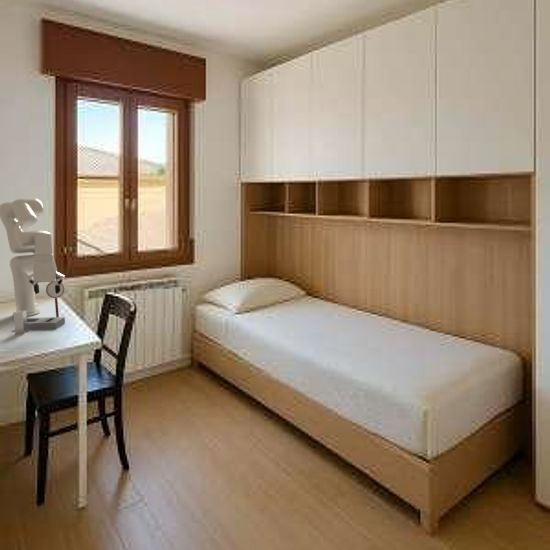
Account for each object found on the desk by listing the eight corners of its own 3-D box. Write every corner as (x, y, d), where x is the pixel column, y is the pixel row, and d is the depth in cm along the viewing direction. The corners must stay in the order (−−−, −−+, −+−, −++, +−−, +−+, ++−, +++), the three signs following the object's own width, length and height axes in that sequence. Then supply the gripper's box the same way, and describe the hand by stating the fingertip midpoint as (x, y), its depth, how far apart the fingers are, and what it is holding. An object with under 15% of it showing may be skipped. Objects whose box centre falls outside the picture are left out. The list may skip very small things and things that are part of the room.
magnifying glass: (49, 321, 246) (45, 282, 242) (48, 320, 247) (45, 281, 244) (67, 318, 251) (64, 280, 248) (66, 317, 252) (63, 280, 249)
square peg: (19, 331, 227) (17, 310, 225) (28, 331, 227) (26, 310, 225) (15, 333, 223) (13, 312, 221) (24, 333, 223) (22, 312, 221)
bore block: (26, 323, 241) (25, 317, 240) (65, 322, 242) (64, 317, 241) (15, 329, 230) (14, 323, 230) (56, 328, 231) (55, 322, 230)
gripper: (22, 259, 227) (25, 295, 229) (59, 258, 227) (62, 294, 230) (29, 257, 234) (32, 292, 237) (65, 256, 235) (68, 291, 238)
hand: (47, 293), depth 234 cm, fingers open, 9 cm apart
